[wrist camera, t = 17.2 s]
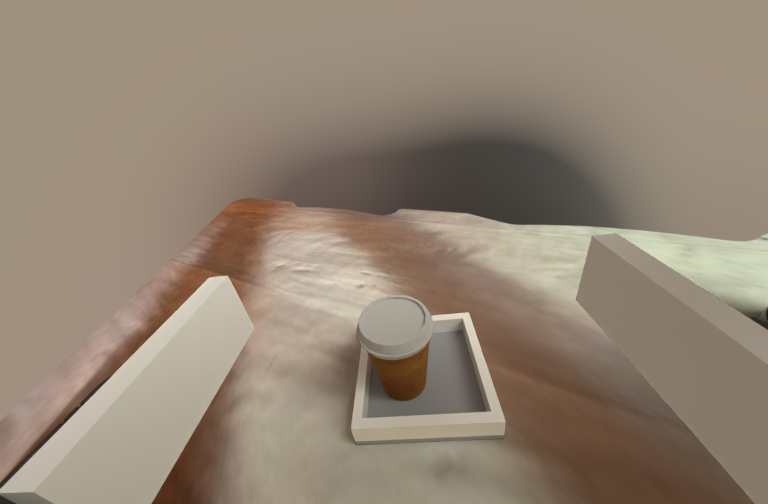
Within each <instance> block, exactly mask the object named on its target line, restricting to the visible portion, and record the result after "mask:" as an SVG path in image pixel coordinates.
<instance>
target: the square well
mask: <svg viewBox="0 0 768 504" xmlns="http://www.w3.org/2000/svg"><path fill="white" fill-rule="evenodd" d="M432 319H433V324H434V328H433V333H432V336H431V338H430V342H429V354H428V365H427V377H426V385H425V388H424V390H423V391H422V393H421V394H420V395H419V396H417V397H416V398H414V399H412V400H408V401H398V400H395V399H393V398H391V397H390V396H388V394H387V393H386V392H385V390H384V389H383V386H382V384H381V382H380V379H379V377H378V375H377V373H376V370H375V368H374V366H373V364H372V362H371V359H370V357H369V355H368V353H367V351H366V350H365V349H364V348H363V347H362V345H361V352H360V360H359V368H358V376H357V384H356V392H355V400H354V408H353V416H352V424H351V431H352V434H353V437H354V439H355V442H356V445H368V444H391V443H414V442H438V441H461V440H484V439H504V433H505V425H506V421H505V418H504V415H503V412H502V409H501V406H500V403H499V400H498V397H497V394H496V391H495V388H494V385H493V382H492V379H491V377H490V374H489V371H488V368H487V365H486V362H485V359H484V356H483V353H482V350H481V347H480V344H479V341H478V338H477V335H476V332H475V330H474V327H473V324H472V321H471V318H470V315H469V313H457V314H446V315H434V316H432Z"/></svg>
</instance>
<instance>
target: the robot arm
mask: <svg viewBox="0 0 768 504" xmlns="http://www.w3.org/2000/svg"><path fill="white" fill-rule="evenodd" d="M576 300H577V301H578V302H579V304H580V305H581V306H582V307H583V308H584V309H585V310H586V312H587V313H588V314H589V315H590V316H591V317H592V318H593V320H594V321H595V322H596V323H597V324H598V325H599V326H600V328H601V329H602V330H603V331H604V332H605V333H606V334H607V336H608V337H609V338H610V339H611V340H612V341H613V342H614V344H615V345H616V346H617V347H618V348H619V349H620V350H621V352H622V353H623V354H624V355H625V356H626V357H627V358H628V359H629V361H630V362H631V363H632V364H633V365H634V366H635V367H636V369H637V370H638V371H639V372H640V373H641V374H642V375H643V377H644V378H645V379H646V380H647V381H648V382H649V383H650V385H651V386H652V387H653V388H654V389H655V390H656V391H657V393H658V394H659V395H660V396H661V397H662V398H663V399H664V401H665V402H666V403H667V404H668V405H669V406H670V407H671V409H672V410H673V411H674V412H675V413H676V414H677V415H678V416H679V418H680V419H681V420H682V421H683V422H684V423H685V424H686V426H687V427H688V428H689V429H690V430H691V431H692V432H693V434H694V435H695V436H696V437H697V438H698V439H699V440H700V442H701V443H702V444H703V445H704V446H705V447H706V448H707V450H708V451H709V452H710V453H711V454H712V455H713V456H714V458H715V459H716V460H717V461H718V462H719V463H720V464H721V466H722V467H723V468H724V469H725V470H726V471H727V472H728V474H729V475H730V476H731V477H732V478H733V479H734V480H735V481H736V483H737V484H738V485H739V486H740V487H741V488H742V489H743V491H744V492H745V493H746V494H747V495H748V496H749V497H750V499H751V500H752V501H753V502H754V503H755V504H768V307H767V308H766V309H765V310H764V311H763V312H762V313H761V315H760V316H759V317H758V319H757V318H748V317H747V316H745V315H743V314H742V313H740V312H739V311H737V310H736V309H734V308H732V307H731V306H729V305H728V304H726V303H725V302H723V301H721V300H720V299H718V298H717V297H715V296H714V295H712V294H710V293H709V292H707V291H706V290H704V289H703V288H701V287H699V286H698V285H696V284H695V283H693V282H692V281H690V280H689V279H687V278H685V277H684V276H682V275H681V274H679V273H678V272H676V271H674V270H673V269H671V268H670V267H668V266H667V265H665V264H663V263H662V262H660V261H659V260H657V259H656V258H654V257H652V256H651V255H649V254H648V253H646V252H645V251H643V250H641V249H640V248H638V247H637V246H635V245H634V244H632V243H630V242H629V241H627V240H626V239H624V238H623V237H621V236H619V235H618V234H607V235H598V236H592V238H591V242H590V246H589V250H588V254H587V258H586V262H585V266H584V270H583V273H582V277H581V281H580V285H579V289H578V293H577V297H576ZM253 330H254V326H253V324H252V322H251V320H250V318H249V316H248V314H247V312H246V310H245V308H244V306H243V304H242V302H241V300H240V298H239V296H238V294H237V293H236V291H235V289H234V287H233V285H232V283H231V281H230V279H229V277H228V276H220V277H211V278H208V279H207V280H206V281H205V282H204V283H203V284H202V285H201V287H200V288H199V289H198V290H197V291H196V292H195V293H194V294H193V295H192V296H191V297H190V298H189V299H188V300H187V301H186V302H185V303H184V304H183V305H182V306H181V307H180V308H179V309H178V310H177V311H176V312H175V313H174V314H173V315H172V316H171V317H170V318H169V319H168V320H167V321H166V322H165V323H164V324H163V325H162V326H161V327H160V328H159V329H158V330H157V331H156V332H155V333H154V334H153V335H152V336H151V337H150V338H149V339H148V340H147V341H146V342H145V343H144V344H143V345H142V346H141V347H140V348H139V349H138V350H137V351H136V352H135V353H134V354H133V355H132V356H131V357H130V358H129V359H128V360H127V361H126V362H125V363H124V364H123V365H122V366H121V367H120V368H119V369H118V370H117V371H116V372H115V373H114V374H113V375H111V376H110V377H109V378H107V379H106V380H105V381H103V382H102V383H101V384H99V385H98V386H97V387H96V388H95V389H94V390H93V391H92V392H91V393H90V394H89V395H88V396H87V397H86V398H85V399H84V400H83V401H82V402H81V405H80V407H76V408H75V409H74V410H73V411H72V412H71V413H70V414H69V415H68V416H67V417H66V418H65V419H64V420H65V421H64V423H63V424H59V425H58V426H57V427H56V428H55V429H54V430H53V431H52V432H51V433H50V434H49V435H48V436H47V437H46V438H45V439H44V440H43V441H42V442H41V443H40V444H39V445H38V446H37V447H36V448H35V449H34V450H33V451H32V452H31V453H30V454H29V455H28V456H27V457H26V458H25V459H24V460H23V461H22V462H21V463H20V464H19V465H18V466H17V467H16V468H15V469H14V470H13V471H12V472H11V473H10V474H9V475H8V476H7V477H6V478H5V479H4V480H3V481H2V482H1V483H0V504H152V502H153V500H154V498H155V497H156V495H157V493H158V492H159V490H160V488H161V487H162V485H163V483H164V481H165V480H166V478H167V476H168V475H169V473H170V471H171V470H172V468H173V466H174V464H175V463H176V461H177V459H178V458H179V456H180V454H181V452H182V451H183V449H184V447H185V446H186V444H187V442H188V441H189V439H190V437H191V435H192V434H193V432H194V430H195V429H196V427H197V425H198V424H199V422H200V420H201V418H202V417H203V415H204V413H205V412H206V410H207V408H208V406H209V405H210V403H211V401H212V400H213V398H214V396H215V395H216V393H217V391H218V389H219V388H220V386H221V384H222V383H223V381H224V379H225V378H226V376H227V374H228V372H229V371H230V369H231V367H232V366H233V364H234V362H235V360H236V359H237V357H238V355H239V354H240V352H241V350H242V349H243V347H244V345H245V343H246V342H247V340H248V338H249V337H250V335H251V333H252V332H253Z"/></svg>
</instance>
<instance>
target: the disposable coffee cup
mask: <svg viewBox="0 0 768 504" xmlns="http://www.w3.org/2000/svg"><path fill="white" fill-rule="evenodd" d="M433 328H434V324H433V319H432V316H431V315H430V313H429V312H428V310H427V309H426V307H425V306H424V305H423V303H421V302H420V301H419V300H417V299H415V298H412V297H409V296H404V295H392V296H387V297H383V298H380V299H378V300H376V301H374V302H372V303H371V304H369V305H368V306H367V307H366V308H365V309H364V311H363V312H362V313H361V316H360V318H359V323H358V326H357V337H358V340H359V342H360V344H361V345H362V347H363V348H364V349H365V350H366V351H367V353H368V355H369V357H370V359H371V362H372V364H373V366H374V368H375V370H376V373H377V375H378V377H379V379H380V382H381V384H382V386H383V389H384V390H385V392H386V393H387V394H388V396H390V397H391V398H393V399H395V400H398V401H408V400H412V399H414V398H416V397H417V396H419V395H420V394H421V393H422V391H423V390H424V388H425V385H426V377H427V365H428V354H429V342H430V338H431V336H432V333H433Z"/></svg>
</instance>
